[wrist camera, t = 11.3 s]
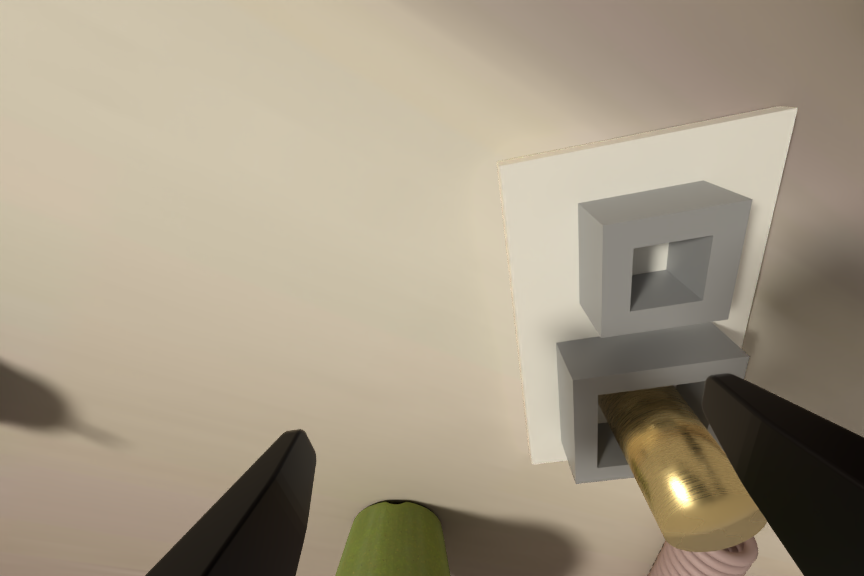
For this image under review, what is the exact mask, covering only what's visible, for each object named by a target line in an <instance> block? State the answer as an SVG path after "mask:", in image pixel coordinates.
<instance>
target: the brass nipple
mask: <svg viewBox="0 0 864 576" xmlns="http://www.w3.org/2000/svg"><path fill="white" fill-rule="evenodd" d="M598 404H599V406H600V408H601V410H602V412H603V414H604V416H605V418H606V420H607V422H608V424H609V426H610V428H611V430H612V432H613V434H614V436H615V438H616V441H617V443H618V445H619V447H620V449H621V451H622V453H623V455H624V457H625V459H626V461H627V463H628V465H629V467H630V469H631V471H632V473H633V475H634V477H635V479H636V481H637V483H638V485H639V487H640V489H641V491H642V493H643V495H644V497H645V499H646V501H647V503H648V505H649V507H650V509H651V511H652V513H653V515H654V517H655V520H656V522H657V524H658V526H659V528H660V530H661V532H662V534H663V536H664V538H665V540H666V541H667V542H668V543H669V544H670V545H671V546H673V547H675V548H677V549H680V550H684V551H689V552H711V551H717V550H722V549H726V548H730V547H733V546H735V545H738V544H740V543H742V542H745V541H746V540H748V539H750V538H752V537H753V536H754V535H756V534H757V533H758V532H759V531H760V530H761V529H762V528H763V527H764V526H765V524H766V522H767V520H766V519H765V517H764V516H763V514H762V513H761V511H760V510H759V508H758V507H757V506H756V504H755V503H754V501H753V500H752V498H751V497H750V495H749V494H748V492H747V491H746V489H745V487H744V486H743V484H742V483H741V481H740V479H739V477H738V476H737V474H736V472H735V470H734V469H733V467H732V465H731V463H730V461H729V459H728V458H727V456H726V454H725V452H724V451H723V450H722V448H721V447H720V446H719V444H718V443H717V442H716V440H715V439H714V438H713V436H712V435H711V434H710V433H709V431H708V430H707V429H706V427H705V426H704V425H703V423H702V422H701V421H700V420H699V418H698V417H697V416H696V414H695V413H694V412H693V410H692V409H691V408H690V406H689V405H688V404H687V403H686V401H685V400H684V399H683V397H682V396H681V395H680V393H679V392H678V391H677V390H676V388H675V387H674V386H673V385H672V386H664V387H656V388H649V389H641V390H634V391H626V392H618V393H611V394H603V395H598Z"/></svg>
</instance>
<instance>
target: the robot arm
mask: <svg viewBox="0 0 864 576" xmlns="http://www.w3.org/2000/svg"><path fill="white" fill-rule="evenodd" d="M702 410H703V413H704V415H705V417H706V419H707V421H708V423H709V424H710V426H711V428H712V430H713V432H714V434H715V435H716V437H717V439H718V441H719V443H720V445H721V446H722V448H723V450H724V452H725V454H726V456H727V458H728V459H729V461H730V463H731V465H732V467H733V469H734V470H735V472H736V474H737V476H738V477H739V479H740V481H741V483H742V484H743V486H744V487H745V489H746V491H747V492H748V494H749V495H750V497H751V498H752V500H753V501H754V503H755V504H756V506H757V507H758V508H759V510H760V511H761V513H762V514H763V516H764V517H765V519H766V520H767V522H768V523H769V525H770V526H771V528H772V529H773V531H774V532H775V534H776V535H777V537H778V538H779V539H780V541H781V542H782V544H783V545H784V547H785V548H786V550H787V551H788V553H789V554H790V556H791V557H792V559H793V560H794V562H795V563H796V565H797V566H798V567H799V569H800V570H801V572H802V573H803V575H804V576H864V437H861V436H859V435H857V434H855V433H853V432H851V431H849V430H847V429H845V428H843V427H841V426H839V425H837V424H835V423H833V422H831V421H829V420H826V419H824V418H822V417H820V416H818V415H816V414H814V413H812V412H810V411H808V410H806V409H804V408H802V407H800V406H798V405H796V404H793V403H791V402H789V401H787V400H785V399H783V398H781V397H779V396H777V395H775V394H773V393H771V392H769V391H767V390H765V389H763V388H761V387H758V386H756V385H754V384H752V383H750V382H748V381H746V380H744V379H742V378H740V377H738V376H736V375H733V374H730V373H723V374H715V375H710V376H708V377H707V379H706V381H705V387H704V392H703V397H702ZM315 466H316V453H315V450H314V448H313V446H312V444H311V442H310V440H309V438H308V436H307V434H306V433H305V431H303V430H301V429H298V430H291V431H286V432H284V433H283V434H282V435H281V436H280V437H279V438H278V439H277V440H276V441H275V442H274V443H273V444H272V445H271V446H270V447H269V448H268V450H267V451H266V452H265V453H264V454H263V455H262V456H261V457H260V458H259V459H258V460H257V461H256V462H255V463H254V464H253V465H252V466H251V467H250V468H249V469H248V470H247V471H246V472H245V473H244V474H243V475H242V476H241V477H240V478H239V479H238V480H237V481H236V483H235V484H234V485H233V486H232V487H231V488H230V489H229V490H228V491H227V492H226V493H225V494H224V495H223V496H222V497H221V498H220V499H219V500H218V501H217V502H216V503H215V504H214V505H213V506H212V507H211V508H210V509H209V510H208V511H207V512H206V513H205V514H204V515H203V517H202V518H201V519H200V520H199V521H198V522H197V523H196V524H195V525H194V526H193V527H192V528H191V529H190V530H189V531H188V532H187V533H186V534H185V535H184V536H183V537H182V538H181V539H180V540H179V541H178V542H177V543H176V544H175V545H174V546H173V547H172V548H171V550H170V551H169V552H168V553H167V554H166V555H165V556H164V557H163V558H162V559H161V560H160V561H159V562H158V563H157V564H156V565H155V566H154V567H153V568H152V569H151V570H150V571H149V572H148V573H147V574H146V575H145V576H295V575H296V571H297V567H298V563H299V559H300V555H301V551H302V547H303V542H304V538H305V533H306V529H307V523H308V517H309V509H310V502H311V495H312V488H313V481H314V474H315Z"/></svg>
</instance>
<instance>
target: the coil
mask: <svg viewBox="0 0 864 576" xmlns="http://www.w3.org/2000/svg"><path fill="white" fill-rule="evenodd" d="M757 556H758V547H757V543H756V540H755V538H754V536H753V537H752V538H750V539H748V540H746V541H745V542H742V543H740V544H738V545H735V546H733V547H730V548H726V549H722V550H717V551H711V552H689V551H684V550H680V549H677V548H675V547H673V546H671V545H670V544H669V543H668V542H667V541H665V543H664V546H663V547H662V549H661V551H660V553H659V555H658V557H657V559H656V560H655V563H654V565H653V567H652V569H651V571H650V573H649V575H648V576H744V575H745V573H746V571H747V570H748V569H749V568H750V567H751V565H752V563H753V562H754V561H755V560H756V559H757Z"/></svg>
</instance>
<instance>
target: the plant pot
mask: <svg viewBox="0 0 864 576" xmlns="http://www.w3.org/2000/svg"><path fill="white" fill-rule="evenodd" d="M335 576H450V571H449V565H448V559H447V554H446V548H445V542H444V537H443V531H442V527H441V523H440V521H439V519H438V518H437V516H436V515H435V514H434V513H433V512H431V511H430V510H429V509H427V508H425V507H423V506H420V505H417V504H414V503H410V502H404V503H402V504H390V503H388V502H382V503H377V504H374V505H371V506H369V507H367V508H365V509H364V510H362V511H361V512H360V513H359V514H358V515H357V516H356V518H355V519H354V522H353V524H352V527H351V530H350V533H349V536H348V539H347V542H346V545H345V548H344V551H343V554H342V557H341V560H340V563H339V566H338V569H337V572H336V575H335Z"/></svg>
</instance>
